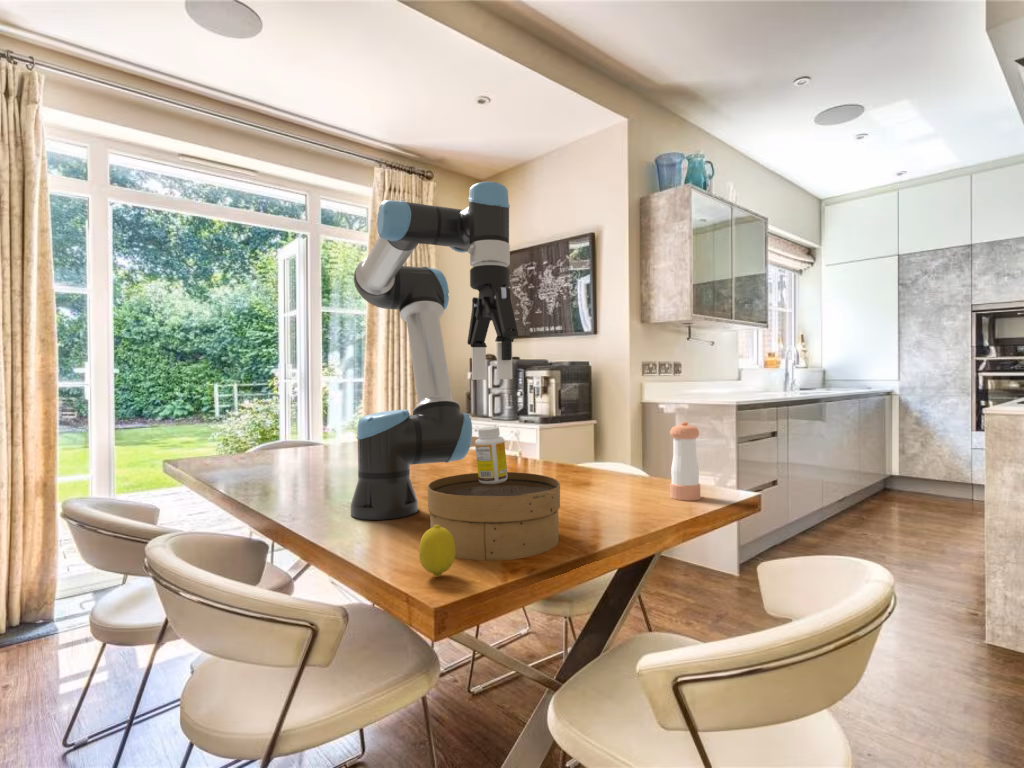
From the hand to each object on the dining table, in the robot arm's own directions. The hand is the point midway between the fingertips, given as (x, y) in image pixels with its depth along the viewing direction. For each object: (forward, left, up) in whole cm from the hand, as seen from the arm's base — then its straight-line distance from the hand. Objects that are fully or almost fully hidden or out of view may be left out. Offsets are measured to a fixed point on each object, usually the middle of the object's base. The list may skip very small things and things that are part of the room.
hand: (491, 379), depth 103 cm
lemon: (+15, -15, -31) cm, 37 cm away
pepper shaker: (-13, +57, -31) cm, 66 cm away
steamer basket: (0, 0, -31) cm, 31 cm away
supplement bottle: (0, 0, -20) cm, 20 cm away
